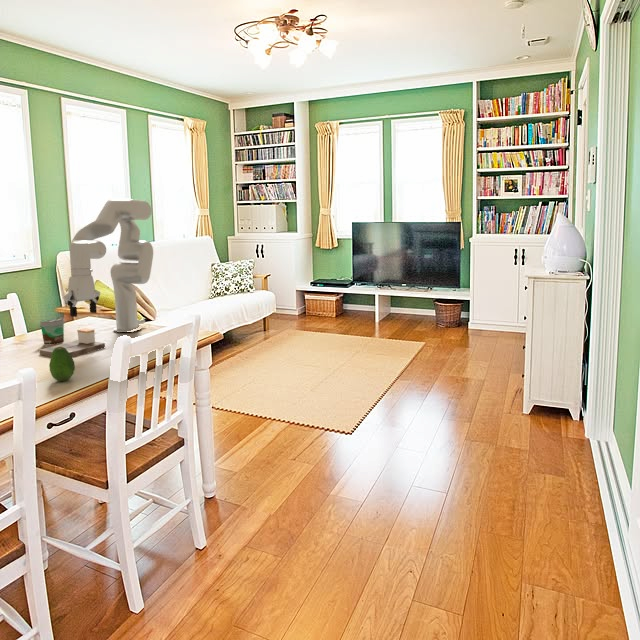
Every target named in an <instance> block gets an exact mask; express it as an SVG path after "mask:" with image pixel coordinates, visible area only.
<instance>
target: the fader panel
mask: <svg viewBox="0 0 640 640" xmlns="http://www.w3.org/2000/svg"><path fill="white" fill-rule="evenodd" d="M56 347H64V348H65V349H66V350H67V351H68V352H69V354H70V355H71V357H72V358H74V357H79V356H81V355H82V356H83V355H85V354H88V352H89V353H92V352H95V350H96V351H99V350H102V349H101V348H103V349H105V348H106V343H104V342H99V341H95V342H92V343H88V344H85V343H80V342H79V341H78V339H75V340H73V341H68V342H65V343H59V344H55V345H53V346H49V347H46V348H41V349H39V351H38V352H39V355H40V356H44V355H46V356H45V357H49V356H50V358H51V355H52V352H53V350H54V349H55V348H56ZM104 347H105V348H104ZM98 349H99V350H98Z"/></svg>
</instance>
